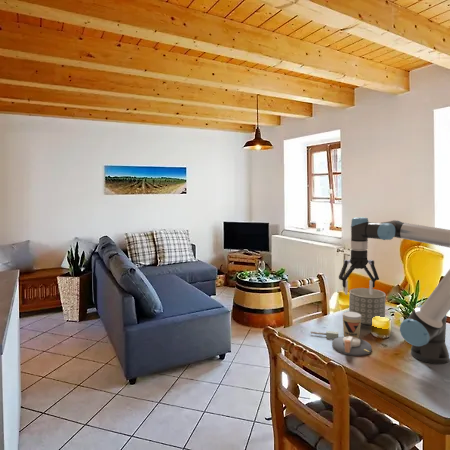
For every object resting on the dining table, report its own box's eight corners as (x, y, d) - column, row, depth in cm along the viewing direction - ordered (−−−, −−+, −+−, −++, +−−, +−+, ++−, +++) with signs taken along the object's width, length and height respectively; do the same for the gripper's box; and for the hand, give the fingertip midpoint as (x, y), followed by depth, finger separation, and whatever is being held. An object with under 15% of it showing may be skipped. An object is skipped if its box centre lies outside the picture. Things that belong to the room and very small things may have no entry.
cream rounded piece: (344, 338, 178) (345, 329, 178) (361, 341, 174) (361, 332, 174) (337, 350, 165) (338, 340, 165) (356, 354, 161) (356, 343, 161)
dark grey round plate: (373, 343, 176) (373, 340, 176) (368, 359, 161) (368, 355, 161) (336, 336, 185) (336, 333, 185) (328, 350, 170) (328, 346, 170)
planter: (346, 317, 214) (346, 287, 212) (379, 318, 211) (379, 288, 210) (352, 329, 195) (353, 297, 193) (389, 330, 193) (390, 298, 191)
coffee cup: (341, 338, 183) (341, 316, 182) (342, 332, 192) (343, 310, 190) (360, 341, 179) (361, 318, 178) (361, 334, 188) (361, 312, 187)
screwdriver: (338, 337, 185) (338, 332, 185) (338, 339, 183) (338, 334, 182) (311, 333, 190) (311, 328, 190) (310, 335, 187) (310, 330, 187)
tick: (363, 350, 166) (363, 349, 166) (364, 349, 167) (364, 349, 167) (368, 352, 164) (368, 351, 164) (369, 351, 165) (369, 351, 164)
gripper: (381, 248, 173) (380, 291, 175) (332, 248, 176) (332, 291, 178) (387, 250, 166) (386, 296, 168) (335, 250, 168) (335, 295, 170)
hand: (358, 293), depth 173 cm, fingers open, 11 cm apart
